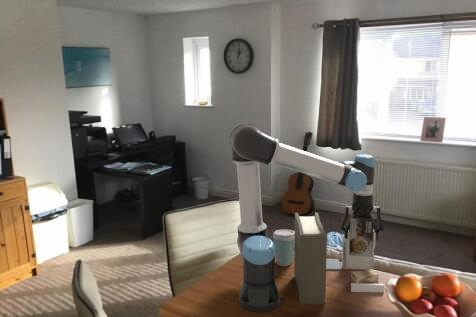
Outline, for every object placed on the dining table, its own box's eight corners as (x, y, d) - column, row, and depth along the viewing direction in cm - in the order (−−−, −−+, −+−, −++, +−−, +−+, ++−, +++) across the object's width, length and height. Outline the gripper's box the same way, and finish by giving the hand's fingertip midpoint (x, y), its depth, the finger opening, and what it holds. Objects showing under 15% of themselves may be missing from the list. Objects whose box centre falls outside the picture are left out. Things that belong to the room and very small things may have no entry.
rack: (350, 291, 158) (351, 255, 155) (341, 267, 178) (342, 234, 175) (384, 292, 157) (386, 255, 154) (372, 268, 177) (373, 235, 174)
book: (325, 305, 150) (327, 234, 144) (299, 305, 150) (300, 234, 144) (316, 276, 171) (318, 212, 165) (294, 276, 171) (294, 212, 165)
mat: (317, 269, 176) (317, 268, 176) (315, 259, 186) (315, 258, 186) (341, 270, 176) (341, 269, 175) (338, 260, 185) (338, 258, 185)
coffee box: (371, 251, 171) (373, 214, 168) (372, 257, 165) (374, 219, 162) (348, 249, 173) (350, 212, 170) (348, 255, 167) (350, 217, 164)
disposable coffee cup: (269, 260, 187) (268, 228, 184) (290, 256, 190) (290, 225, 187) (278, 270, 177) (278, 237, 174) (300, 266, 180) (301, 234, 177)
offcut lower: (353, 289, 160) (353, 282, 160) (349, 283, 165) (350, 276, 165) (379, 289, 160) (379, 282, 159) (374, 283, 165) (375, 276, 164)
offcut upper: (356, 283, 159) (357, 277, 158) (351, 278, 163) (351, 271, 163) (378, 280, 161) (378, 274, 160) (371, 275, 165) (372, 269, 164)
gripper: (336, 195, 161) (334, 249, 166) (394, 196, 159) (390, 250, 164) (333, 190, 169) (331, 241, 173) (389, 191, 167) (385, 243, 171)
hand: (360, 246), depth 168 cm, fingers closed on coffee box, 9 cm apart
